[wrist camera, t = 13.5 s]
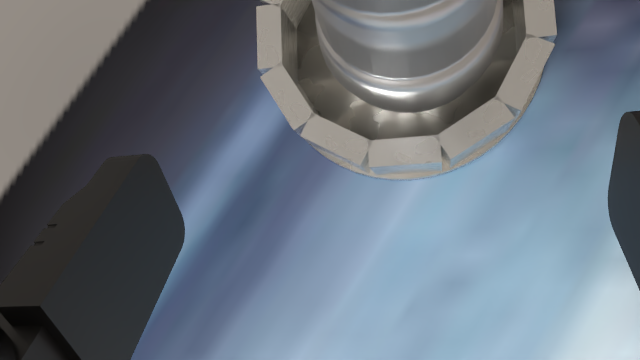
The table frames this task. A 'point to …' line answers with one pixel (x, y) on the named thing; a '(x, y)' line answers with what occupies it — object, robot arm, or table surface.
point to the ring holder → (392, 127)
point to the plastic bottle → (408, 48)
